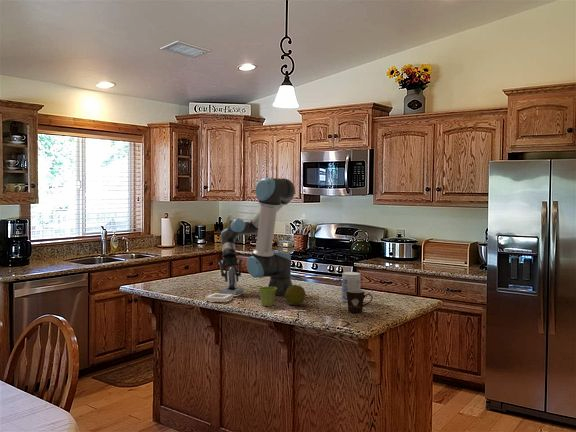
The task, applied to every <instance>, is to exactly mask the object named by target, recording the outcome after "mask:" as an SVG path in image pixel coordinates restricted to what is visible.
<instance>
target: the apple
mask: <svg viewBox="0 0 576 432" xmlns="http://www.w3.org/2000/svg"><path fill="white" fill-rule="evenodd" d="M284 296H285V299H286V302H287V304H289V305H291V306H300V305H302V304H303V303H304V301H305V298H306V291H305V288H303V286H302V285H297V284H292V285H291V286H289V287H288V288H287V290H286V292H285V295H284Z"/></svg>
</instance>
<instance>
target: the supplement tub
mask: <svg viewBox="0 0 576 432" xmlns="http://www.w3.org/2000/svg"><path fill="white" fill-rule="evenodd" d="M361 274H362V273H361V272H356V271H355V272H354V271H345V272H342V276H341V301H342V302H344V303H347V294H346V290H351V289H358V290H361V286H362V285H361V281H362V280H361V276H362V275H361Z"/></svg>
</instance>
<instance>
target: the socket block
mask: <svg viewBox="0 0 576 432" xmlns="http://www.w3.org/2000/svg"><path fill="white" fill-rule="evenodd" d="M244 288H245V287H241V286H237V287H235V289H234V290H231V289H229V288H228V286H225V287H222V288H220V289H219V293H218V294H233V295H238V294H241V293H243V292H244ZM244 293H245V292H244Z"/></svg>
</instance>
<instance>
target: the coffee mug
mask: <svg viewBox="0 0 576 432" xmlns="http://www.w3.org/2000/svg"><path fill="white" fill-rule="evenodd" d="M346 294H347V302H346V303H347V310H348V313H349V314H353V315H356V314H357V315H358V314H362V313H363V310H364V309H363V308H364V307H365V306H367V305H369V304H370V303H371V302H372V301H373V295H372V294H371V293H366V294H365V290H363V289H360V290H358V289H351V290H346ZM367 296H370V298H371V300H369V301H368V302H367V303H365V304H364V300H365V298H366V297H367Z"/></svg>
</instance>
